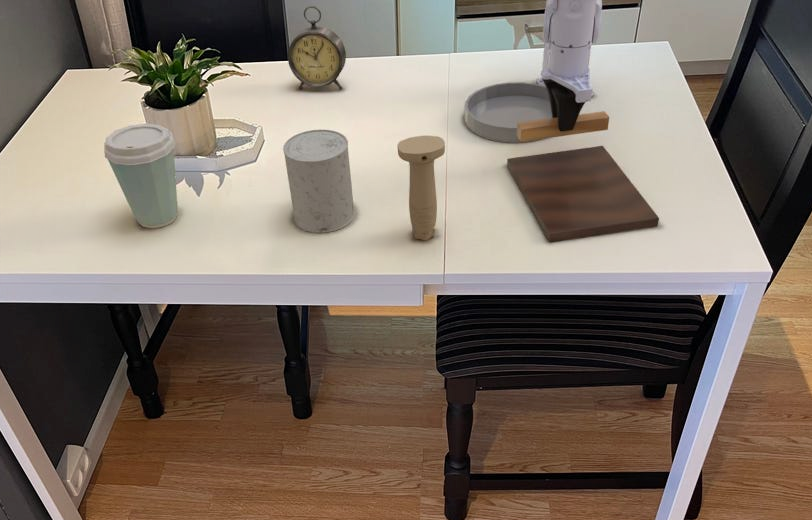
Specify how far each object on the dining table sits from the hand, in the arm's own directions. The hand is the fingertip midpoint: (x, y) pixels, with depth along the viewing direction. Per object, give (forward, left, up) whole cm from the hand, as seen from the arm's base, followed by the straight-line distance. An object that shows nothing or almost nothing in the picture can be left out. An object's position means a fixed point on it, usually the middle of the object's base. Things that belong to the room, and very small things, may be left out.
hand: (563, 125), depth 123 cm
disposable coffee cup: (-1, -65, -8) cm, 65 cm away
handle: (+14, -25, -8) cm, 29 cm away
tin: (-18, -2, -7) cm, 20 cm away
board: (+9, 0, -7) cm, 11 cm away
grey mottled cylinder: (+5, -39, -8) cm, 40 cm away
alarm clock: (-42, -35, -8) cm, 55 cm away
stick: (0, 0, -1) cm, 1 cm away
